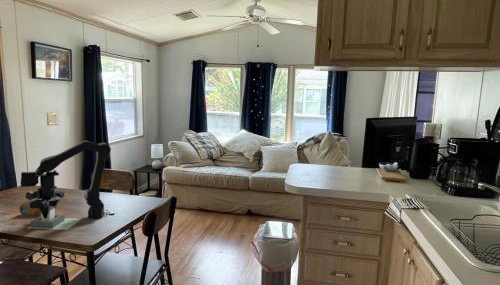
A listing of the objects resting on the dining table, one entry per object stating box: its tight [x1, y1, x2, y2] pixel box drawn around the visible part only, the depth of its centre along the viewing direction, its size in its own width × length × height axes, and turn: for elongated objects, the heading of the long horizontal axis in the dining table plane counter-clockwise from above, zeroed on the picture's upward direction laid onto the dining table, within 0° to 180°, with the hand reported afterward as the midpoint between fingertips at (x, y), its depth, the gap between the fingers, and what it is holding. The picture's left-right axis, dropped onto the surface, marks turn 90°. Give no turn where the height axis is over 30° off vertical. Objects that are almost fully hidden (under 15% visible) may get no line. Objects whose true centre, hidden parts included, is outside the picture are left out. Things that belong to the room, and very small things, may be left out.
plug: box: [40, 206, 56, 220], centre depth 151 cm, size 4×4×6 cm
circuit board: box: [27, 217, 82, 231], centre depth 153 cm, size 18×14×1 cm
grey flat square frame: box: [30, 213, 65, 229], centre depth 151 cm, size 10×10×3 cm
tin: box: [19, 199, 41, 217], centre depth 162 cm, size 15×3×8 cm, turn 105°
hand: (48, 216), depth 151 cm, fingers closed on plug, 4 cm apart
